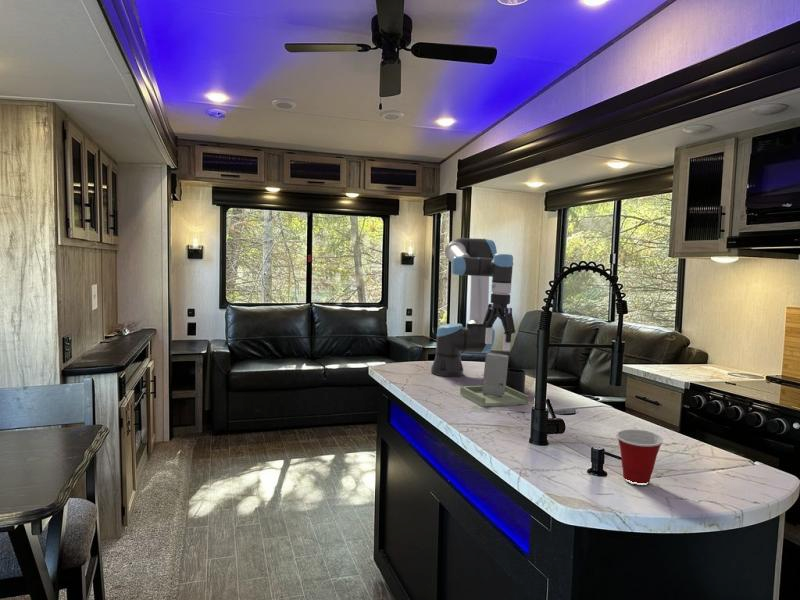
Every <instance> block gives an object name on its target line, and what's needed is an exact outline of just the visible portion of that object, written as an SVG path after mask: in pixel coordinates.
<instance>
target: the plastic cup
mask: <svg viewBox="0 0 800 600" xmlns="http://www.w3.org/2000/svg"><path fill="white" fill-rule="evenodd" d="M615 437H616V438H617V439H618V440H617V441H618V444H619V448H620V449H619V450H620V451H619V452H620V458H621V459H620V460H621V467H622V474H623V479H624V478H625V479H627V480H630V481H632V482H637V483H647V482H649V481H650V480H651V477H652V474H653V471H654V468H655V465H656V460H657V457H658V453H659V450H660V448H661V445H662V444H663V442H664V438H663V437H662V436H661V435H659V434H657V433H655V432H652V431H648V430H646V429H645V430H644V429H637V428H636V429H633V428H632V429H631V428H627V429H622V430H618V431H617V432H616V434H615ZM649 483H650V482H649Z"/></svg>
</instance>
